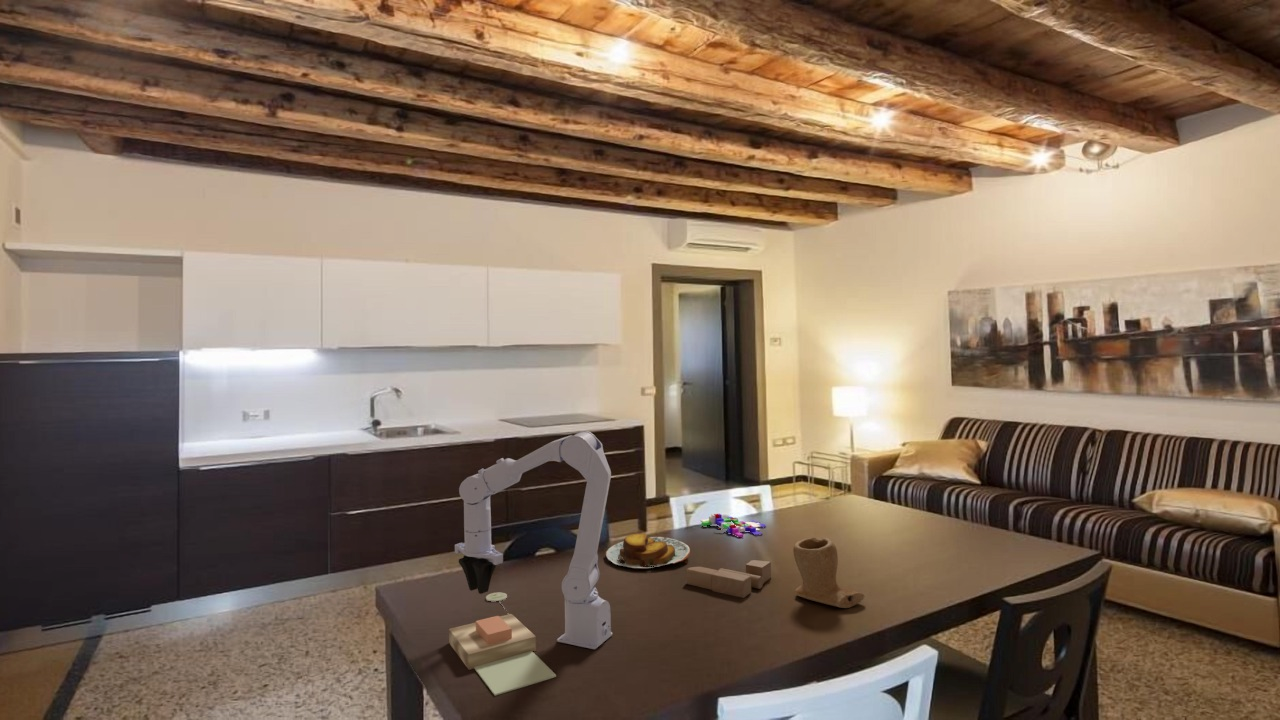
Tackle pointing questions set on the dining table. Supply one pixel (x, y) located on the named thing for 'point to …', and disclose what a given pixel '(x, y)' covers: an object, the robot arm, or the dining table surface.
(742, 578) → the wooden block set
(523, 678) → the mat
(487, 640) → the tile
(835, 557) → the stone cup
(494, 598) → the sign
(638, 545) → the food on plate
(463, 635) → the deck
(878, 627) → the dining table surface
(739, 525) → the building block set
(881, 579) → the dining table surface
